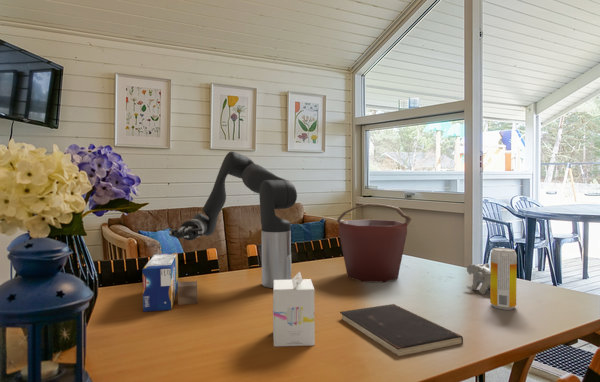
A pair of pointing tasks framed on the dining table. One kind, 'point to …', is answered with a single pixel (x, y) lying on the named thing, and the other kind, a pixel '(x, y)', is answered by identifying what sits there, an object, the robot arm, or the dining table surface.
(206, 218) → the robot arm
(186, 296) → the walnut block
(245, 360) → the dining table surface
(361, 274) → the bucket
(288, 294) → the ink box
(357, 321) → the hardcover book
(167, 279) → the beverage box
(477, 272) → the gray elephant figurine
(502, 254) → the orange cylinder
